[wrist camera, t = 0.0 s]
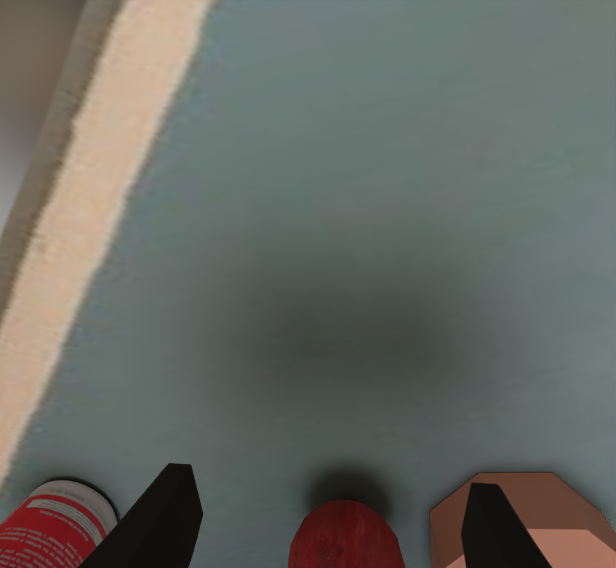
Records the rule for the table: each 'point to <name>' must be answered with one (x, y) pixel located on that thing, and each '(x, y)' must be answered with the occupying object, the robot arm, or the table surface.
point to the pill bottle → (55, 527)
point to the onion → (345, 539)
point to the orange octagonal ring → (531, 522)
